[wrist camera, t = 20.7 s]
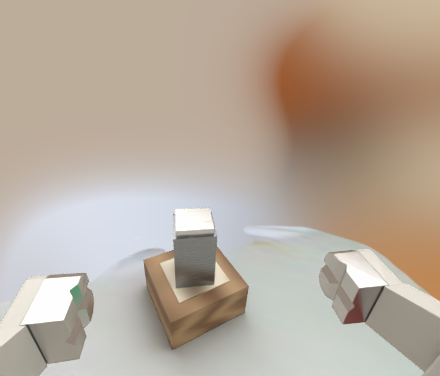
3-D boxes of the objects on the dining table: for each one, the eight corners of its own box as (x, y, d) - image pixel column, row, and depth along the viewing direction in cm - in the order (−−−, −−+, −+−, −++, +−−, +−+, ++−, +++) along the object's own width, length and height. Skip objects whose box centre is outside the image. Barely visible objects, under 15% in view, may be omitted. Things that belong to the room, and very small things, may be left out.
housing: (214, 284, 38) (217, 230, 33) (175, 288, 37) (173, 233, 32) (209, 257, 42) (211, 206, 37) (175, 259, 41) (172, 207, 36)
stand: (172, 349, 35) (170, 322, 32) (146, 285, 44) (143, 259, 41) (244, 312, 41) (248, 285, 38) (208, 261, 50) (209, 236, 47)
